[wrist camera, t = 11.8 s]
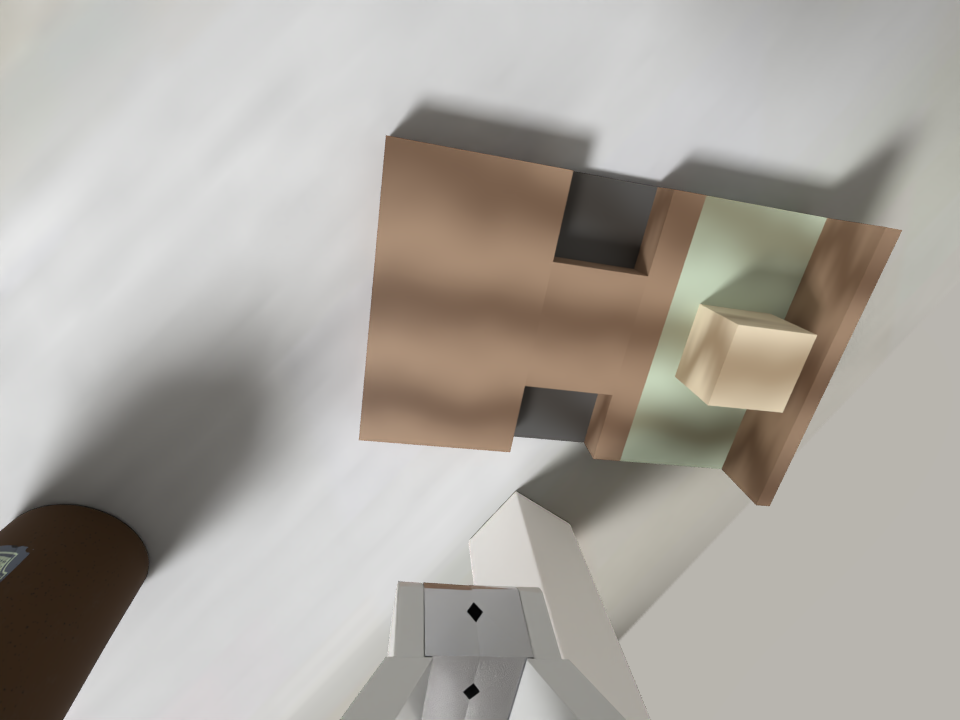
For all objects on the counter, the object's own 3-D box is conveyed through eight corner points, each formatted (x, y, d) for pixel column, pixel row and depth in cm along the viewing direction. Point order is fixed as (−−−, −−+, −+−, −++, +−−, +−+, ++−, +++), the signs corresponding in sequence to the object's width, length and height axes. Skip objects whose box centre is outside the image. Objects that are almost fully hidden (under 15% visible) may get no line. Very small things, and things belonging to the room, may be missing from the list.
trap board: (714, 451, 38) (769, 505, 32) (362, 420, 33) (351, 478, 27) (810, 215, 31) (901, 230, 26) (388, 136, 27) (380, 132, 21)
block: (742, 383, 33) (782, 412, 29) (674, 376, 32) (707, 405, 28) (770, 313, 31) (817, 335, 27) (699, 303, 30) (738, 324, 27)
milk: (570, 522, 39) (735, 910, 19) (522, 571, 41) (628, 979, 21) (514, 489, 37) (633, 883, 17) (465, 541, 39) (522, 962, 19)
